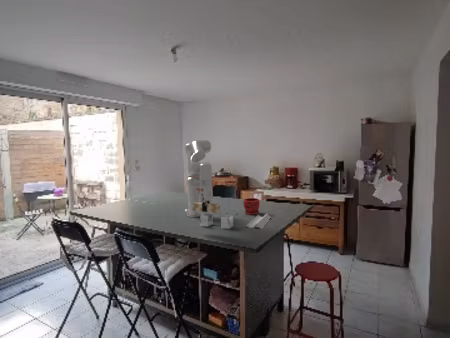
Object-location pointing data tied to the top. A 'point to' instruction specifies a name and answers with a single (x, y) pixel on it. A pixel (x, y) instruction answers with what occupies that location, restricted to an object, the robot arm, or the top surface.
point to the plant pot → (251, 206)
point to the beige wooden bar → (210, 207)
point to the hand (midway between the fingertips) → (206, 210)
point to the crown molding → (258, 221)
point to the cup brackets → (207, 220)
